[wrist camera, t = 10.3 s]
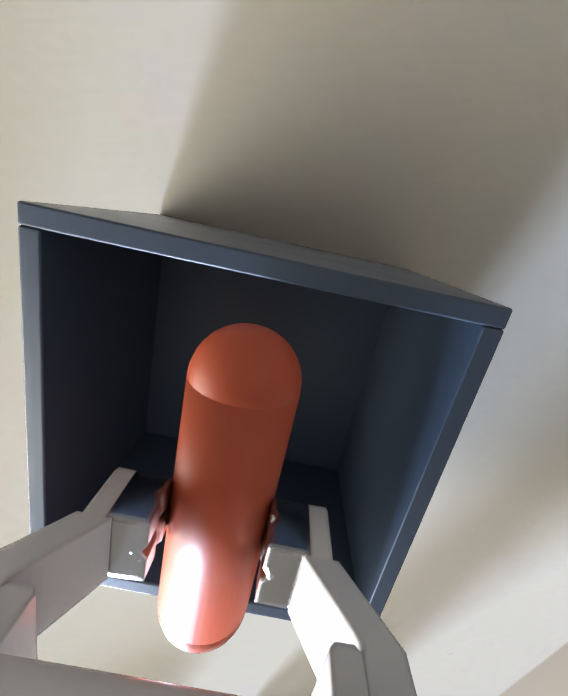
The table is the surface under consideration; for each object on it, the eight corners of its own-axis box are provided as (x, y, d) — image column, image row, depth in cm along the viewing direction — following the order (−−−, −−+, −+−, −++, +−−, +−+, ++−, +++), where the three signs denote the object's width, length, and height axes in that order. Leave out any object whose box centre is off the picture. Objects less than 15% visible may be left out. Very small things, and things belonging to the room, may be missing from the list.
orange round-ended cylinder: (210, 301, 9) (176, 330, 7) (311, 323, 10) (316, 359, 7) (171, 576, 13) (138, 667, 10) (246, 590, 13) (233, 684, 10)
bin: (157, 214, 18) (15, 199, 9) (408, 269, 18) (514, 309, 9) (138, 433, 22) (30, 573, 13) (342, 474, 23) (371, 636, 14)
